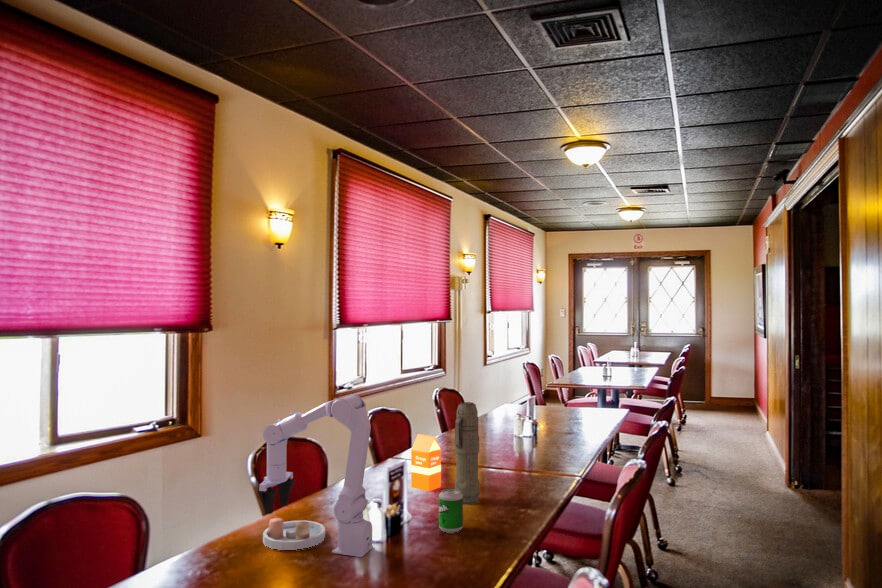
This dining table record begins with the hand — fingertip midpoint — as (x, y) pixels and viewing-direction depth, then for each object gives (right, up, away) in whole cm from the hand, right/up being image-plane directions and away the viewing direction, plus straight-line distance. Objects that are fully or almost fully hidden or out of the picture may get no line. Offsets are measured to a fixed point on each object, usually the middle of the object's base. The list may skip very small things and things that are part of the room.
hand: (276, 508), depth 190 cm
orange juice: (+44, -11, +55) cm, 71 cm away
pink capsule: (0, -8, 0) cm, 8 cm away
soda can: (+52, -10, +8) cm, 54 cm away
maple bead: (+8, -8, -3) cm, 12 cm away
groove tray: (+5, -9, +1) cm, 11 cm away
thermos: (+59, -10, +38) cm, 71 cm away
